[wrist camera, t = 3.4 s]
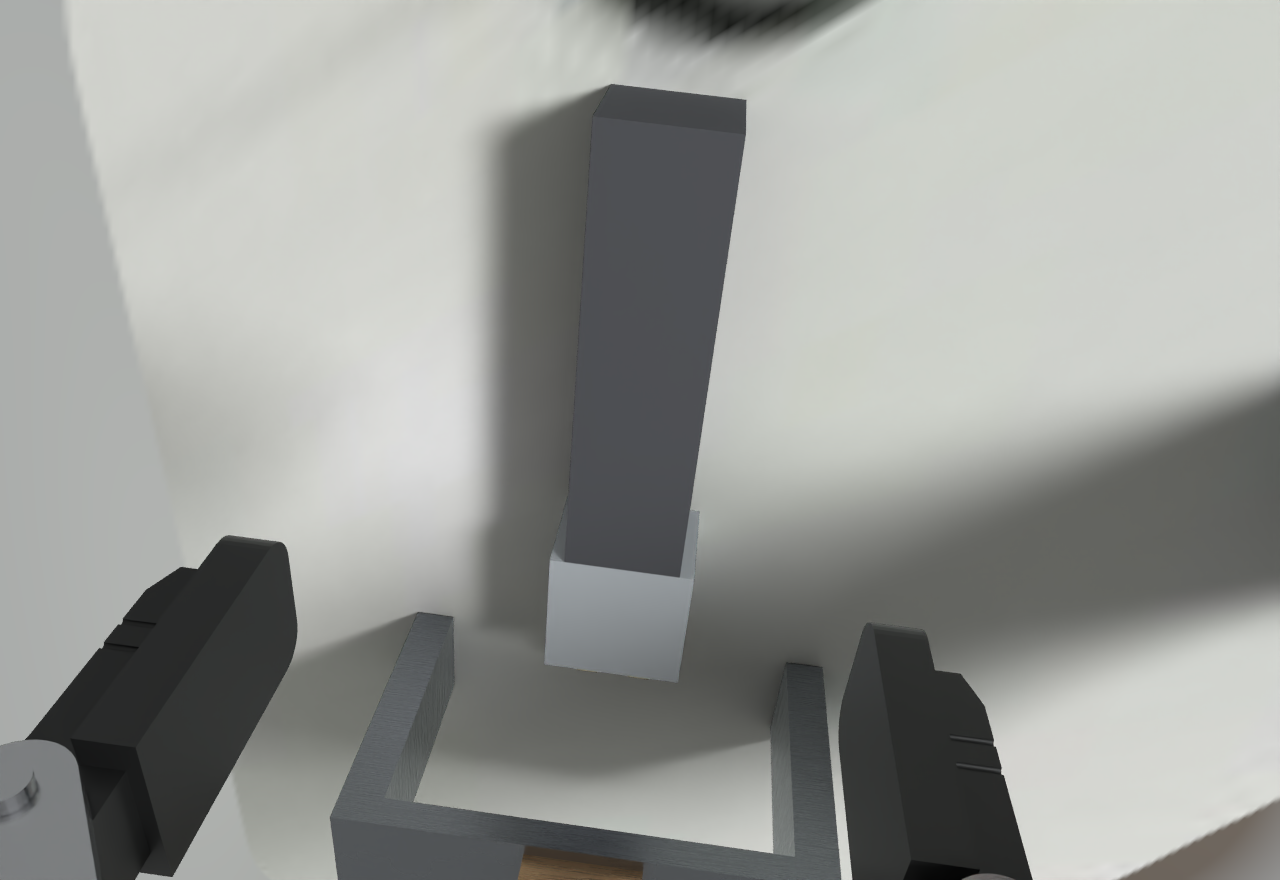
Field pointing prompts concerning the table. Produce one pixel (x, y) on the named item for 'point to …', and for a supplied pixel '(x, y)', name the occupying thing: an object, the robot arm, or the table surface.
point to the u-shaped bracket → (554, 852)
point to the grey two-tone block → (642, 377)
